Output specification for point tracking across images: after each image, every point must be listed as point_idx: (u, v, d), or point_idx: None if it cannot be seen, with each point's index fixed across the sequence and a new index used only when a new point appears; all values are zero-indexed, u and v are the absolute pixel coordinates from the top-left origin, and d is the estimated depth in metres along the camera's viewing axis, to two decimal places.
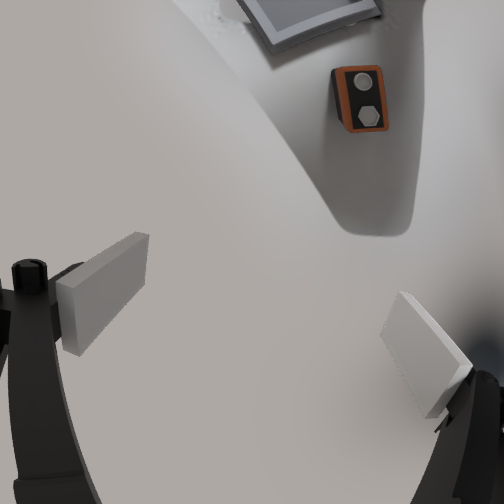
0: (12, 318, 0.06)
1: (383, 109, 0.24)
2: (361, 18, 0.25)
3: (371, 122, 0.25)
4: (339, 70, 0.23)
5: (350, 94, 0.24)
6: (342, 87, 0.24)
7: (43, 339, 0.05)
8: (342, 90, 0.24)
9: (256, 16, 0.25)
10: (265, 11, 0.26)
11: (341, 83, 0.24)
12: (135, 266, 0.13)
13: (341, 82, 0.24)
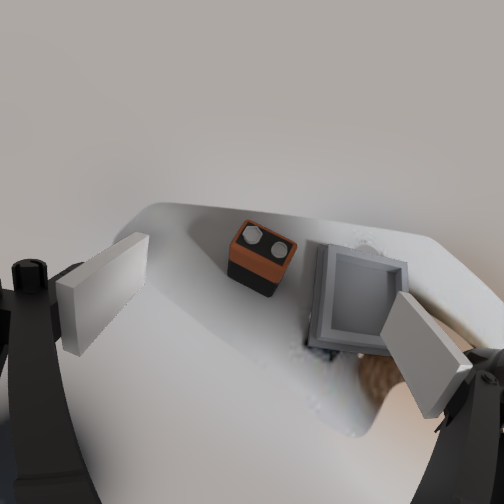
0: (12, 318, 0.06)
1: (248, 251, 0.33)
2: (312, 324, 0.38)
3: (245, 233, 0.33)
4: (295, 243, 0.34)
5: (274, 236, 0.34)
6: (282, 236, 0.34)
7: (42, 339, 0.05)
8: (280, 235, 0.34)
9: (355, 250, 0.41)
10: (353, 265, 0.43)
11: None
12: (135, 266, 0.13)
13: (286, 238, 0.34)
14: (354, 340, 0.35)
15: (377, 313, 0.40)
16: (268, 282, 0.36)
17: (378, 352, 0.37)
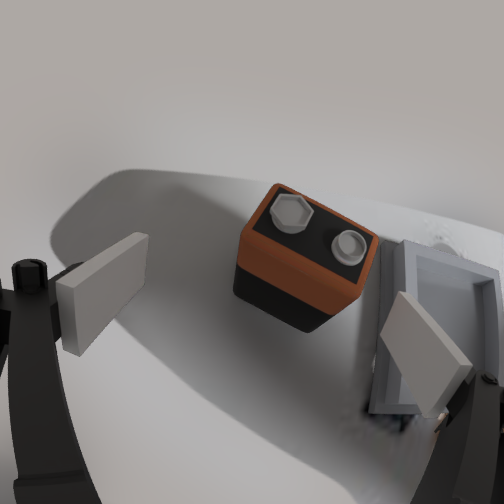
0: (12, 318, 0.06)
1: (283, 248, 0.14)
2: (380, 378, 0.20)
3: (277, 210, 0.15)
4: (375, 235, 0.16)
5: (335, 219, 0.15)
6: (349, 219, 0.16)
7: (42, 339, 0.05)
8: (344, 217, 0.16)
9: (439, 252, 0.23)
10: (433, 274, 0.24)
11: None
12: (135, 266, 0.13)
13: None
14: None
15: (465, 349, 0.21)
16: (315, 312, 0.17)
17: None
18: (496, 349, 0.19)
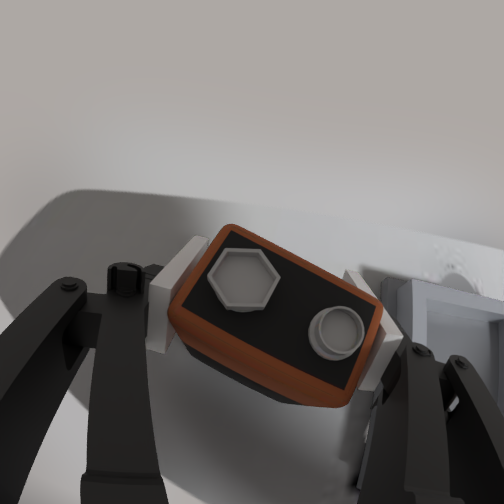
0: (103, 317, 0.07)
1: (230, 339, 0.09)
2: None
3: (219, 275, 0.09)
4: None
5: (318, 282, 0.10)
6: (340, 279, 0.10)
7: (134, 342, 0.07)
8: (333, 275, 0.10)
9: (454, 291, 0.18)
10: (445, 316, 0.19)
11: (350, 284, 0.10)
12: None
13: (352, 285, 0.10)
14: None
15: None
16: (288, 399, 0.12)
17: None
18: None
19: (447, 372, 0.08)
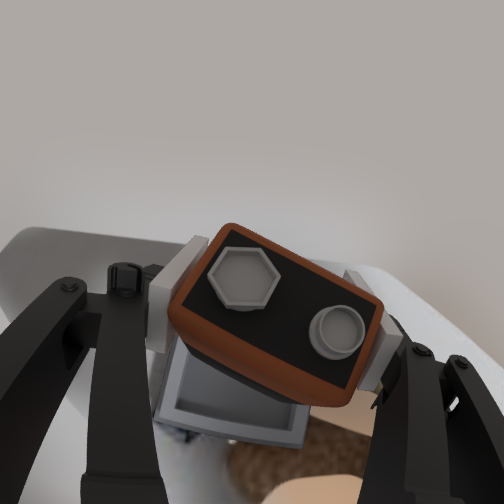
0: (103, 317, 0.07)
1: (230, 338, 0.09)
2: (160, 394, 0.26)
3: (220, 274, 0.09)
4: None
5: (318, 281, 0.10)
6: (341, 278, 0.10)
7: (134, 342, 0.07)
8: (333, 274, 0.10)
9: None
10: None
11: (350, 283, 0.10)
12: None
13: (353, 284, 0.10)
14: (209, 428, 0.23)
15: None
16: (288, 399, 0.12)
17: (257, 442, 0.25)
18: None
19: (447, 372, 0.08)
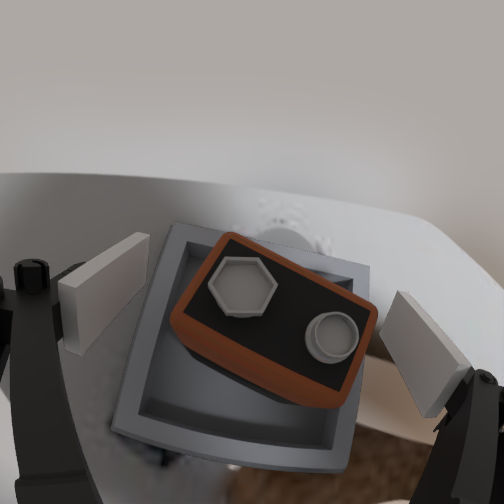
0: (14, 318, 0.06)
1: (230, 343, 0.09)
2: (121, 391, 0.16)
3: (219, 283, 0.09)
4: None
5: (314, 288, 0.10)
6: (336, 285, 0.11)
7: (44, 339, 0.05)
8: (329, 281, 0.11)
9: None
10: None
11: (345, 289, 0.11)
12: (136, 266, 0.13)
13: (348, 291, 0.11)
14: (195, 448, 0.13)
15: None
16: (286, 400, 0.12)
17: (274, 467, 0.15)
18: None
19: None
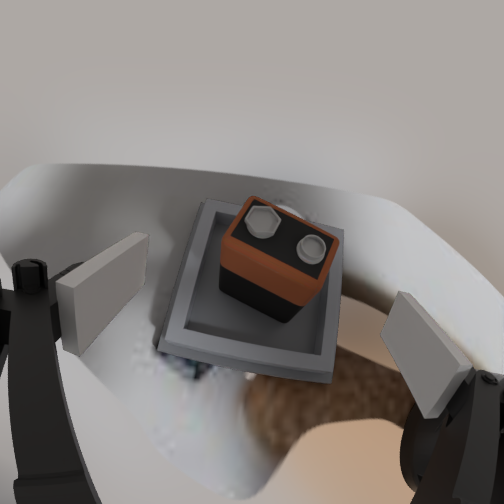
0: (12, 318, 0.06)
1: (256, 251, 0.18)
2: (166, 318, 0.24)
3: (250, 219, 0.18)
4: (336, 238, 0.19)
5: (301, 225, 0.19)
6: (314, 225, 0.19)
7: (42, 339, 0.05)
8: (309, 223, 0.19)
9: None
10: None
11: None
12: (135, 266, 0.13)
13: (320, 228, 0.19)
14: (224, 351, 0.22)
15: None
16: (287, 304, 0.21)
17: (279, 374, 0.23)
18: (324, 312, 0.24)
19: None
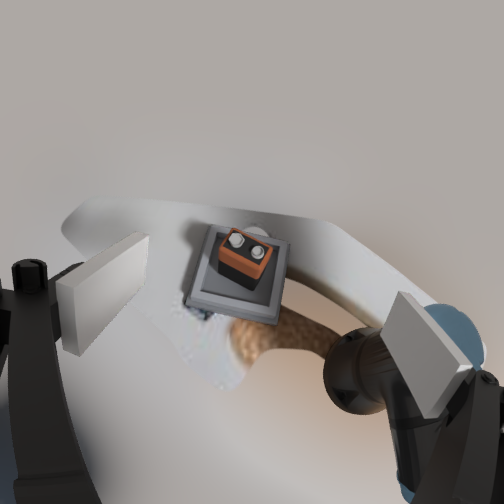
0: (12, 318, 0.06)
1: (233, 253, 0.41)
2: (190, 288, 0.48)
3: (231, 239, 0.42)
4: (271, 247, 0.43)
5: (254, 241, 0.43)
6: (260, 241, 0.43)
7: (42, 339, 0.05)
8: (259, 240, 0.43)
9: None
10: None
11: (263, 242, 0.43)
12: (135, 266, 0.13)
13: None
14: (220, 302, 0.45)
15: None
16: (250, 278, 0.44)
17: (248, 317, 0.47)
18: (272, 285, 0.48)
19: None
